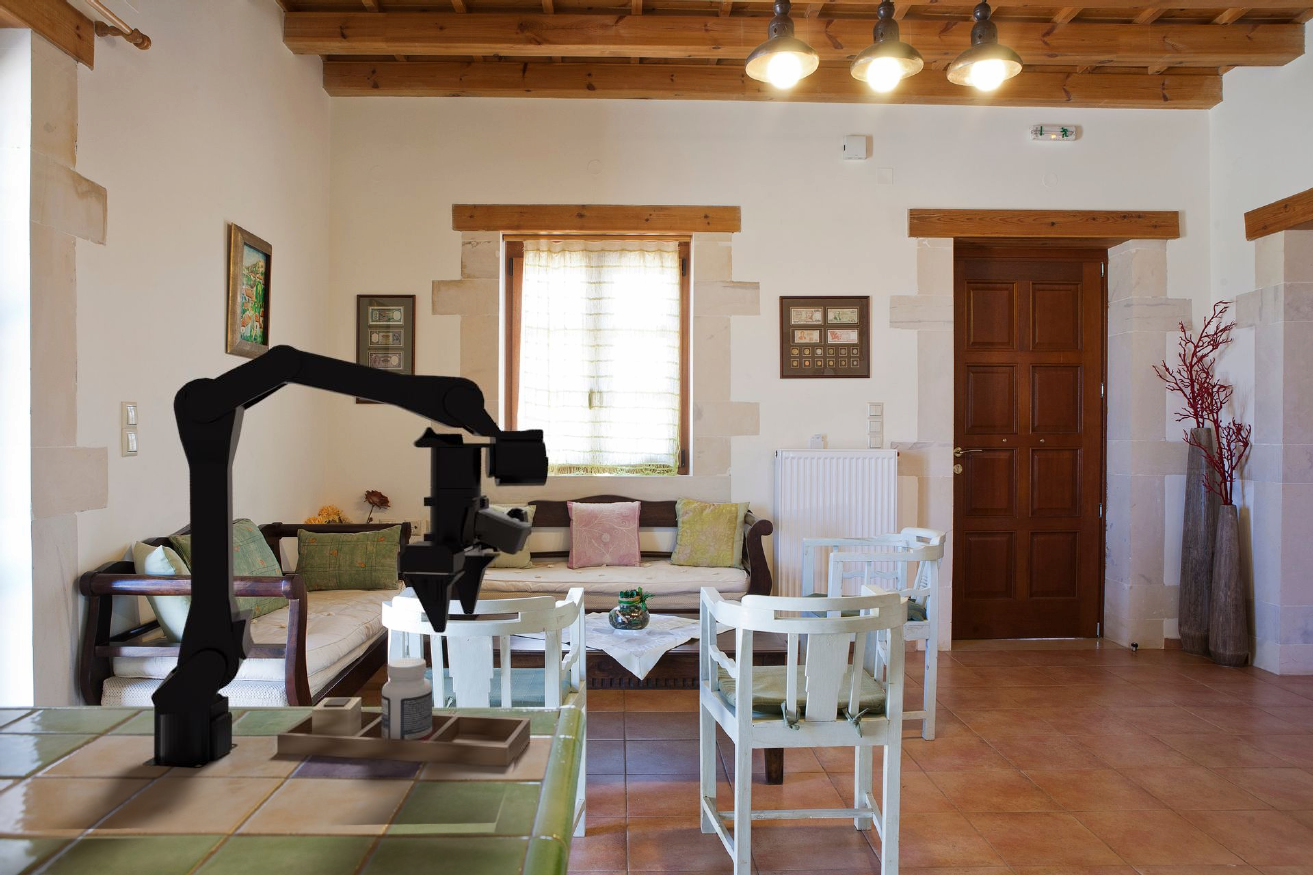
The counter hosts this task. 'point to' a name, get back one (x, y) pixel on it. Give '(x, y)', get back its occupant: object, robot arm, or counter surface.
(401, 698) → the pill bottle
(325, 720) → the tan hollow cube
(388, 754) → the bay tray
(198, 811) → the counter surface
